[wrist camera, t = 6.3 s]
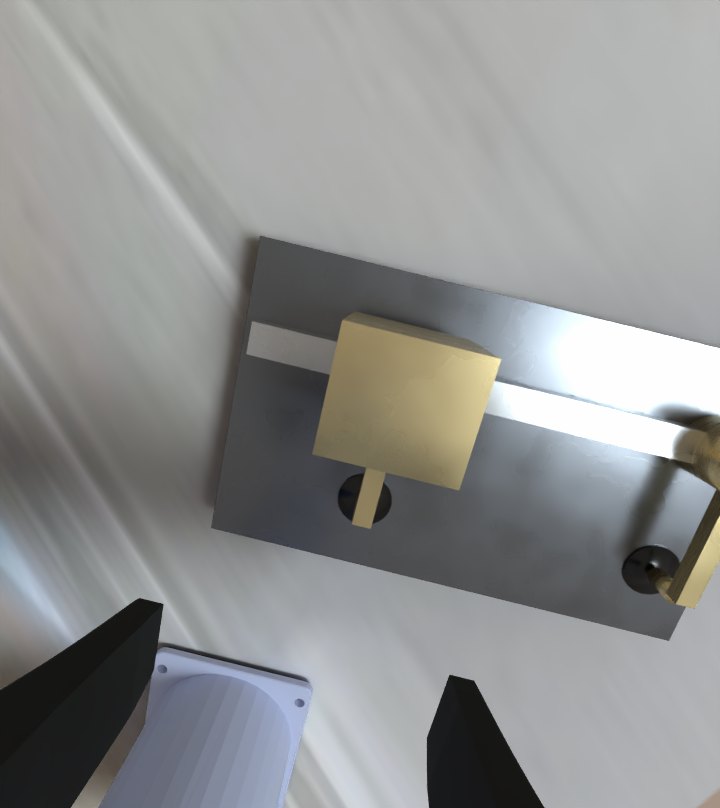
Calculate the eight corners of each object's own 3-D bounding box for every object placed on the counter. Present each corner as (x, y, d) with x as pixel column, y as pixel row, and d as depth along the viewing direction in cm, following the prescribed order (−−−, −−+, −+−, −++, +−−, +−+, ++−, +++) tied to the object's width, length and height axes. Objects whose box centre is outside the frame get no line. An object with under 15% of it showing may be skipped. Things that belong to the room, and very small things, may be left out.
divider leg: (410, 523, 18) (418, 616, 13) (313, 499, 18) (283, 582, 13) (465, 336, 16) (501, 358, 11) (357, 310, 16) (342, 319, 11)
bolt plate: (648, 615, 21) (709, 691, 17) (223, 510, 21) (185, 562, 17) (770, 362, 17) (879, 383, 14) (270, 240, 18) (237, 226, 14)
